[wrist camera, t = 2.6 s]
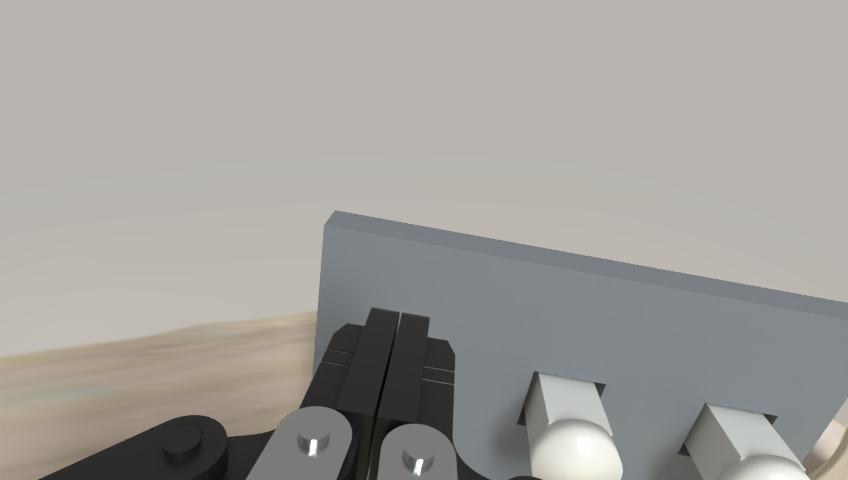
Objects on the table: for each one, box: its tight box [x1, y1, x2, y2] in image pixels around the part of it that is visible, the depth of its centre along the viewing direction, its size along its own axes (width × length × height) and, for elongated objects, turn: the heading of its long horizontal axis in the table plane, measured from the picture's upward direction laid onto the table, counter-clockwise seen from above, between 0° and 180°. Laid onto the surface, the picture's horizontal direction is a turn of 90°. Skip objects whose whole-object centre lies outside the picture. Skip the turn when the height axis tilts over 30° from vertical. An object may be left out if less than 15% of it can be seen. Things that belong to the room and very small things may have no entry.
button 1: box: [684, 403, 810, 480], centre depth 25 cm, size 4×10×4 cm, turn 175°
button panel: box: [313, 211, 848, 480], centre depth 26 cm, size 27×10×18 cm, turn 85°
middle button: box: [523, 371, 623, 480], centre depth 25 cm, size 4×10×4 cm, turn 174°
